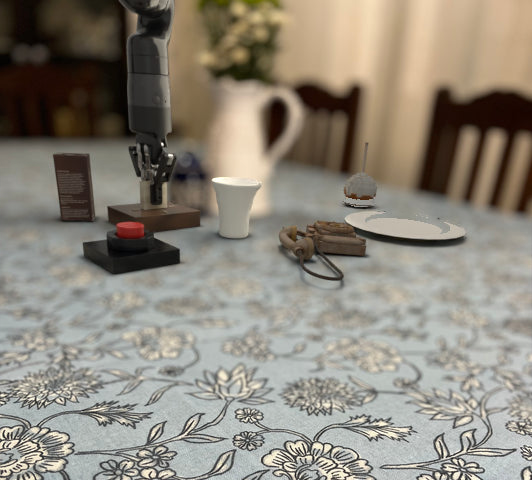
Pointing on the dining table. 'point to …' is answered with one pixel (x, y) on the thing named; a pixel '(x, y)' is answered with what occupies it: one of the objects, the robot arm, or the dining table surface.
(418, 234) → the plate
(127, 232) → the button
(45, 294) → the dining table surface
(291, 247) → the telephone
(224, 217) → the cup
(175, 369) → the dining table surface
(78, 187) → the box
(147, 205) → the cream slab
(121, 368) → the dining table surface
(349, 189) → the grey candy apple
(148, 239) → the housing
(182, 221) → the panel
